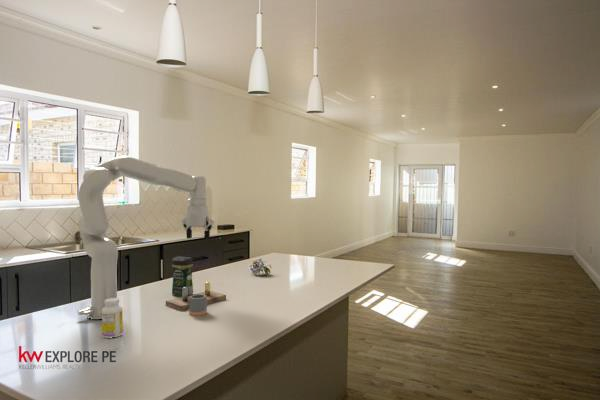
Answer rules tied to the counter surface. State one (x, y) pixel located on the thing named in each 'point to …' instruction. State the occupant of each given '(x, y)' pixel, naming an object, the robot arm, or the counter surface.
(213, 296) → the pin board
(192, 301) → the sleeve
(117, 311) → the supplement bottle
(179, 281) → the coffee jar
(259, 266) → the passion flower
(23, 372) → the counter surface
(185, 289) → the pins
